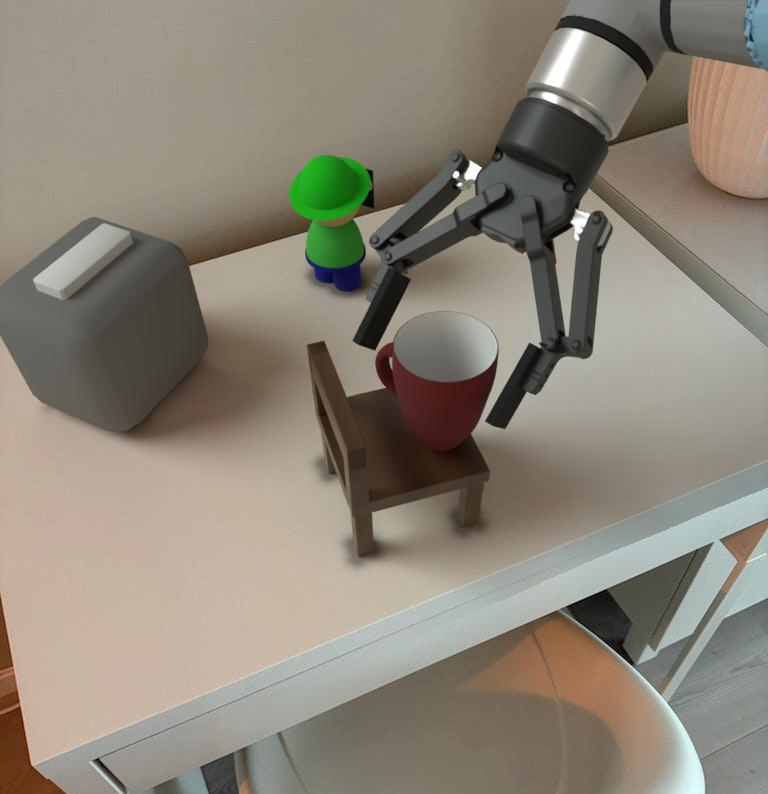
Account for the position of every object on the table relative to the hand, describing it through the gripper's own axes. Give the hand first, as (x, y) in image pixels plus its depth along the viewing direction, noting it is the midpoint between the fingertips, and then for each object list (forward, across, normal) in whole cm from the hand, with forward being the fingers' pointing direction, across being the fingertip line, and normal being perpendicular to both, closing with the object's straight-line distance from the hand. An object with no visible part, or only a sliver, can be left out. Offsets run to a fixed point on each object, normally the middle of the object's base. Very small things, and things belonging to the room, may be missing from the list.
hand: (426, 384), depth 60 cm
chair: (+11, +2, -9) cm, 14 cm away
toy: (-3, +28, -23) cm, 36 cm away
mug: (+4, 0, -5) cm, 6 cm away
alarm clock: (+16, +33, -4) cm, 37 cm away
